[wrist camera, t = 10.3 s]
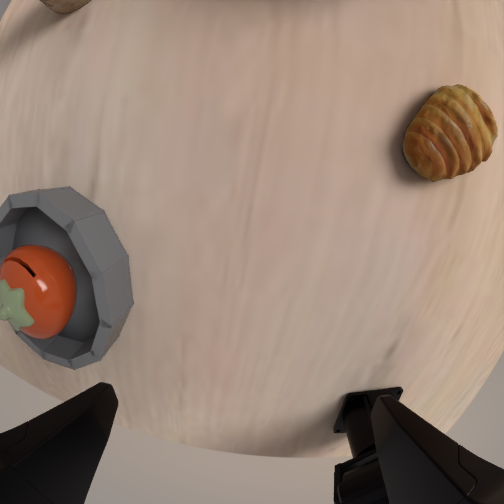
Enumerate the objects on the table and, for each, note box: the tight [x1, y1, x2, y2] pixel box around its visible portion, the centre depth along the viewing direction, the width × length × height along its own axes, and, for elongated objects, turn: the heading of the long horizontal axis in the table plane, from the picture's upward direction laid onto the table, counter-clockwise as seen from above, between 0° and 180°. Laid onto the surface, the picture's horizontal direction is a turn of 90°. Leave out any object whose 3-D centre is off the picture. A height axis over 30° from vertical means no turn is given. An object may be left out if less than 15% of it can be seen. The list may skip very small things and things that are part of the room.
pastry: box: [403, 84, 498, 182], centre depth 15 cm, size 9×7×4 cm
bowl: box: [0, 186, 134, 370], centre depth 18 cm, size 15×15×4 cm
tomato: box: [0, 244, 78, 339], centre depth 15 cm, size 7×7×8 cm
